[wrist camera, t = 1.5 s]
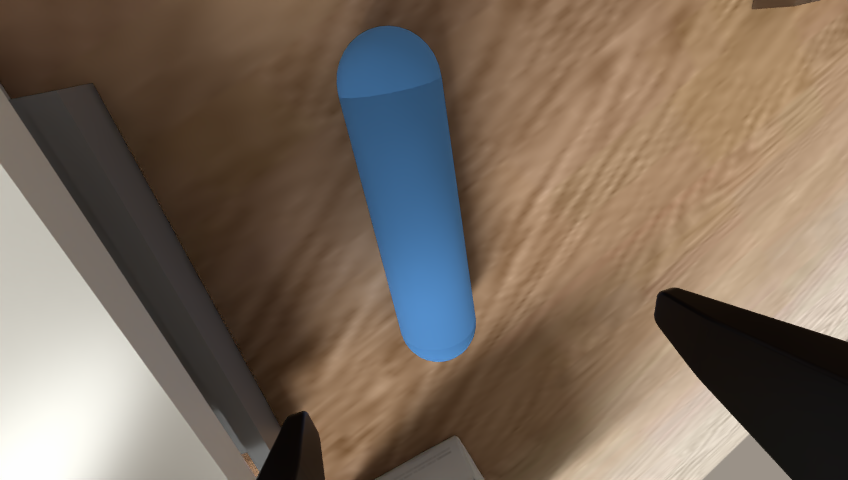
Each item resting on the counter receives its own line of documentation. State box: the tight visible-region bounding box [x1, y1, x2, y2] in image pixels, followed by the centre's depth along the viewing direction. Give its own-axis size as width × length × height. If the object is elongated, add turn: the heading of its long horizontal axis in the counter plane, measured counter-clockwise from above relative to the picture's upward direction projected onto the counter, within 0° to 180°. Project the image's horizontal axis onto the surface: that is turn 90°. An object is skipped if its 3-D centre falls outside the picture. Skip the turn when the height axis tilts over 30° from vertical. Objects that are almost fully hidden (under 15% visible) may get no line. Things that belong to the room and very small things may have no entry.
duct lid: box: [0, 89, 256, 480], centre depth 13 cm, size 21×8×2 cm, turn 10°
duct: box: [0, 83, 281, 472], centre depth 16 cm, size 22×8×5 cm, turn 10°
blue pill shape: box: [337, 26, 476, 362], centre depth 18 cm, size 16×4×4 cm, turn 10°
